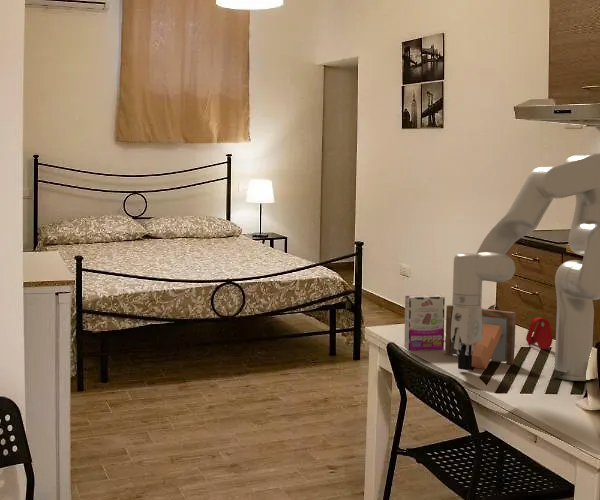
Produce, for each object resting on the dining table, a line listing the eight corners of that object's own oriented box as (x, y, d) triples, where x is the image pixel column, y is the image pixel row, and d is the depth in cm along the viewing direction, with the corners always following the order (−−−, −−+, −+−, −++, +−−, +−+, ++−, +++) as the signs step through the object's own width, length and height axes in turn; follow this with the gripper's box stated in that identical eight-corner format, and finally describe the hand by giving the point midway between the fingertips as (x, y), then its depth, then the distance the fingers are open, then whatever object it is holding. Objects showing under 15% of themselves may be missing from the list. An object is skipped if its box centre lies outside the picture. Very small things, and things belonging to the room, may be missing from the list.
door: (507, 361, 236) (508, 318, 235) (502, 362, 233) (504, 319, 232) (453, 353, 246) (455, 312, 245) (449, 354, 244) (450, 313, 243)
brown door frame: (513, 363, 234) (515, 312, 233) (510, 364, 233) (512, 313, 232) (448, 353, 247) (449, 304, 246) (444, 354, 246) (446, 305, 244)
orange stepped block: (502, 331, 233) (496, 319, 230) (485, 369, 227) (479, 357, 224) (486, 329, 236) (480, 316, 233) (469, 366, 230) (462, 354, 227)
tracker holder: (555, 352, 252) (556, 319, 251) (542, 353, 251) (543, 320, 250) (533, 345, 264) (534, 313, 263) (520, 345, 262) (522, 313, 262)
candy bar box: (438, 348, 256) (439, 294, 254) (444, 351, 251) (445, 296, 250) (403, 348, 254) (404, 294, 252) (408, 352, 249) (409, 297, 247)
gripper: (466, 304, 213) (464, 376, 214) (492, 299, 225) (490, 366, 226) (440, 301, 218) (438, 371, 219) (467, 296, 229) (464, 362, 231)
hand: (464, 368), depth 222 cm, fingers closed
